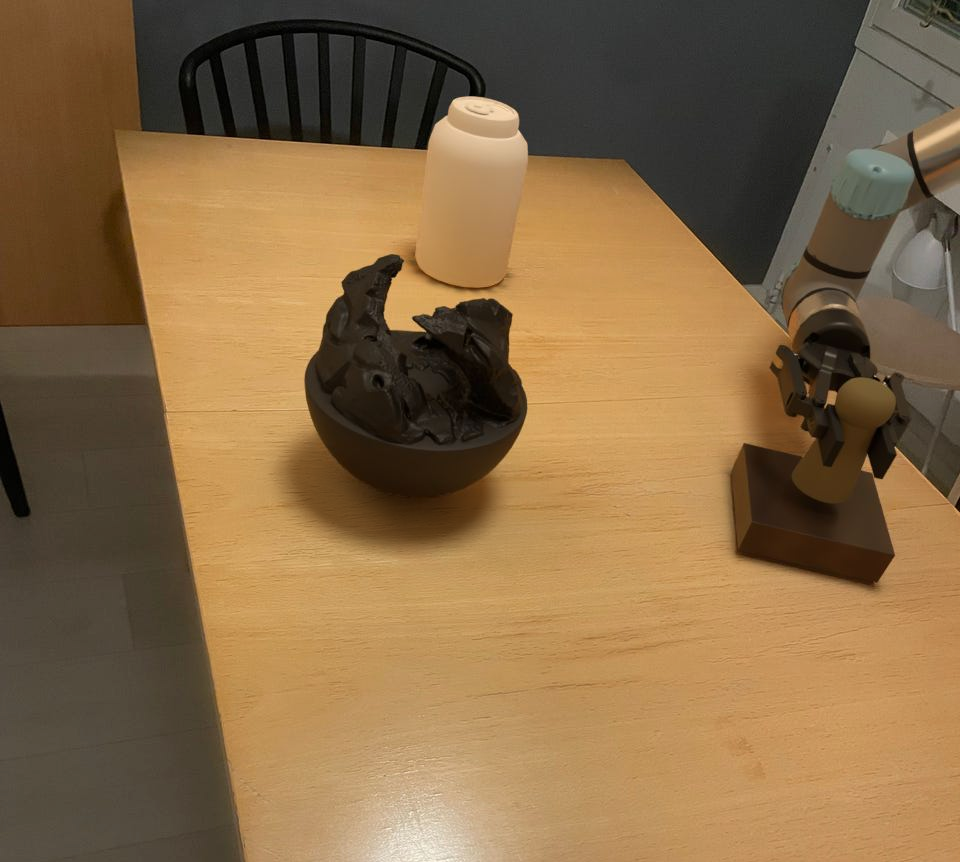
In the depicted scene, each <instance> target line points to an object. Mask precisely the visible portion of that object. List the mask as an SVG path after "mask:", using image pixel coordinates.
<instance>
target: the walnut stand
mask: <svg viewBox="0 0 960 862" xmlns="http://www.w3.org/2000/svg"><path fill="white" fill-rule="evenodd" d="M802 458H803V456H802V455H798V454H793V453H788V452H784V451H780V450H776V449H772V448H767V447H763V446H759V445H754V444H751V443H746V442H743V444H742V446H741V448H740V450H739V453H738V455H737V457H736V459H735V462H734V464H733V466H732V468H731V481H732V494H733V495H732V496H733V505H734V506H733V507H734V519H735V531H736V541H737V543H736V544H737V550H738V551H739V552H740V553H741V554H740V555H741V556H744V557H750V558H753V559H758V560H762V561H766V562H771V563H775V564H779V565H784V566H788V567H793V568H797V569H800V570H805V571H808V572H809V571H810V572H814V573H818V574H823V575H827V576H830V577H835V578H840V579H844V580H848V581H852V582H856V583H861V584H866V585H869V586H871V585H872V583H877V584H878V583H879V581H880V580H881V578H882V577H883V575H884V573H885V572H886V570H887V568H888V567H889V566H890V564H891V563H892V561H893V560H894V558H895V556H896V552H895V549H894V546H893V542H892V538H891V535H890V532H889V528H888V524H887V521H886V517H885V514H884V510H883V507H882V503H881V499H880V495H879V492H878V489H877V485H876V481H875V478H874V475H873V472H870V471H866V470H862V469H861V472H860V474H859V477H858V479H857V482H856V484H855V487H854V490H853V492H852V495H851V497H850V499H848V500H847V501H846V502H843V503H827V502H822V501H819V500H816V499H814V498H812V497H810V496H808V495H806V494H805V493H803V492H802V491H801V490H800V489H798V488H797V486H796V485H795V484H794V482H793V480H792V473H793V471H794V469H795V468H796V466H797V465H798V463H799V462H800V461H801V459H802Z"/></svg>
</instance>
